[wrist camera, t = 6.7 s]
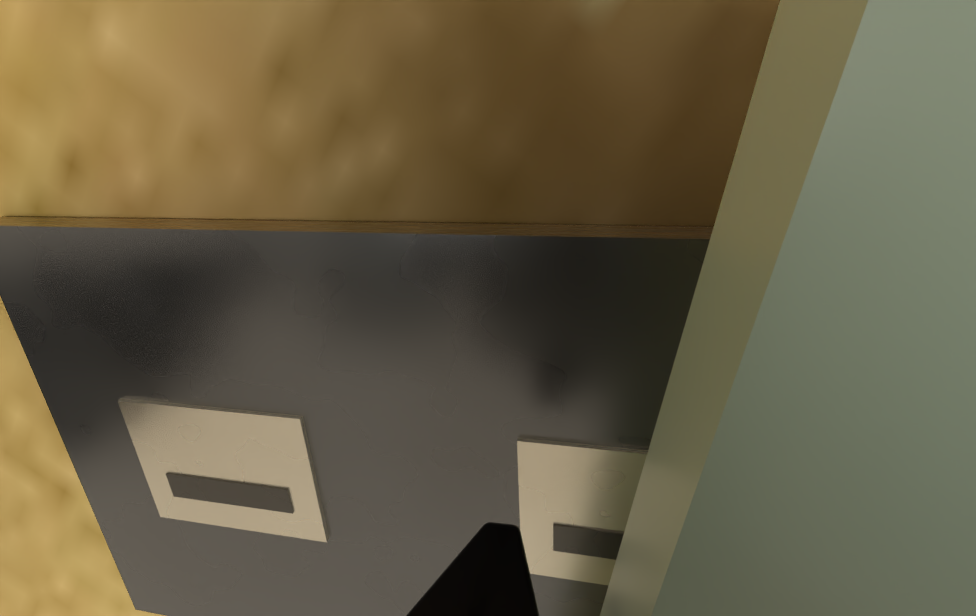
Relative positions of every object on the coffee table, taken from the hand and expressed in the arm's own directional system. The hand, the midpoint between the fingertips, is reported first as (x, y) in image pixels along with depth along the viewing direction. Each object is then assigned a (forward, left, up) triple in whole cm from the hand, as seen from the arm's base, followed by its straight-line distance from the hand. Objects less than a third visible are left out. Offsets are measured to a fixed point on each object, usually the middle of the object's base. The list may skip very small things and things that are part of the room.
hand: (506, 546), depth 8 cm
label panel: (-2, -4, -3) cm, 5 cm away
